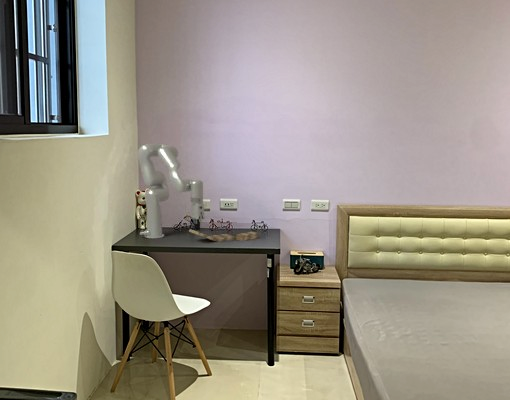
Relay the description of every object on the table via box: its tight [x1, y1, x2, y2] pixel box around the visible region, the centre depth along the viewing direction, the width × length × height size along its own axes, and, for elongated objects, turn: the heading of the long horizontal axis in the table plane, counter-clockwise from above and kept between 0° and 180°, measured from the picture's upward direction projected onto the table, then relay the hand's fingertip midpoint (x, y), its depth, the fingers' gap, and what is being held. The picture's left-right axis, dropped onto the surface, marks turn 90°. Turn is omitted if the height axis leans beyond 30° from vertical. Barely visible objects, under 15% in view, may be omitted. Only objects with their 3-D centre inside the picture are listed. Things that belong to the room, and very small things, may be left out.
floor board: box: [209, 233, 237, 243], centre depth 365 cm, size 14×12×2 cm
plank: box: [188, 228, 217, 242], centre depth 357 cm, size 14×12×2 cm
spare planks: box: [235, 231, 259, 242], centre depth 367 cm, size 15×7×3 cm, turn 134°
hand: (197, 229), depth 354 cm, fingers closed
